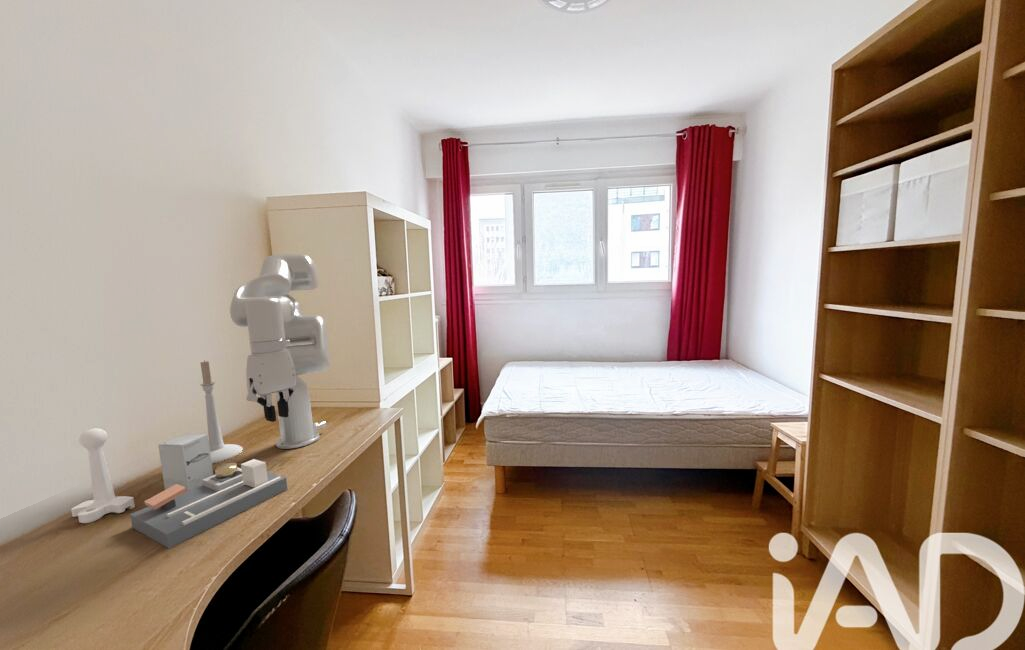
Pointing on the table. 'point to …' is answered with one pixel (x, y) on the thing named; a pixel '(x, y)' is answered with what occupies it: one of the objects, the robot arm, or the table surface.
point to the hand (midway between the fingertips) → (277, 418)
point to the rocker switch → (165, 496)
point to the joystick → (99, 482)
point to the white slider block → (254, 473)
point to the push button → (226, 470)
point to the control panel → (203, 507)
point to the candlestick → (215, 422)
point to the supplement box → (186, 460)
